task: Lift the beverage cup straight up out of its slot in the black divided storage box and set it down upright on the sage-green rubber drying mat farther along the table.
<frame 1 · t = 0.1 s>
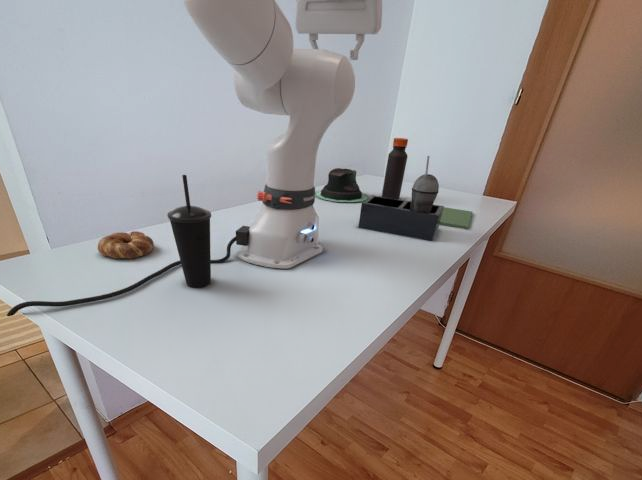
hand: (335, 59, 88), 39 cm above the table, tool pointing down, fingers open, 8 cm apart
black fabric hat shape: (341, 196, 138), on the table
drinking cup: (198, 283, 73), on the table
black divided storage box: (398, 228, 109), on the table
braided bread ring: (128, 252, 85), on the table
beverage cup: (415, 232, 107), resting in black divided storage box
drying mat: (441, 216, 122), on the table
bottle: (390, 199, 139), on the table
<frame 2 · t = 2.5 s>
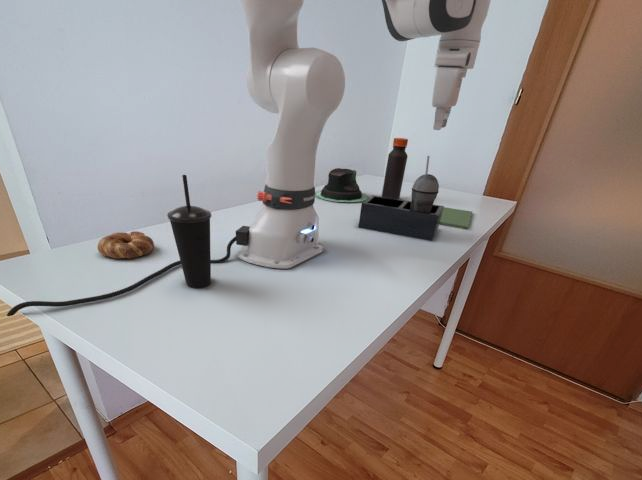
hand: (439, 128, 92), 26 cm above the table, tool pointing down, fingers open, 8 cm apart
nothing on the table moved.
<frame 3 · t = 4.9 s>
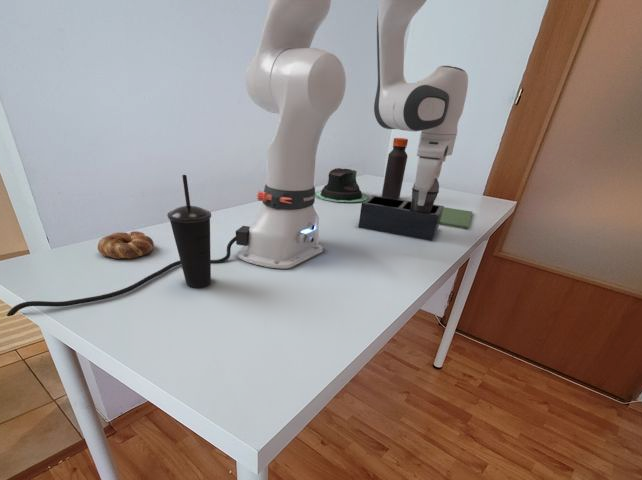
hand: (423, 201, 102), 9 cm above the table, tool pointing down, fingers open, 7 cm apart
beverage cup: (415, 232, 107), resting in black divided storage box, touching arm, gripper
everything else where it was.
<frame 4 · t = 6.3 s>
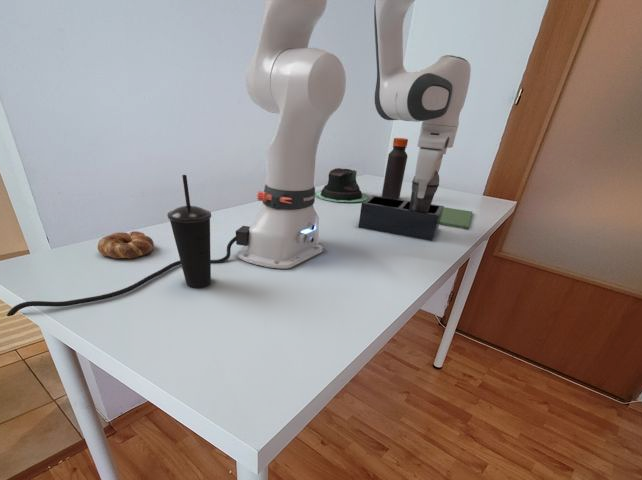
hand: (422, 195, 101), 10 cm above the table, tool pointing down, fingers closed on beverage cup, 6 cm apart
beverage cup: (414, 226, 106), point 2 cm above the table, touching arm, gripper
everything else where it was.
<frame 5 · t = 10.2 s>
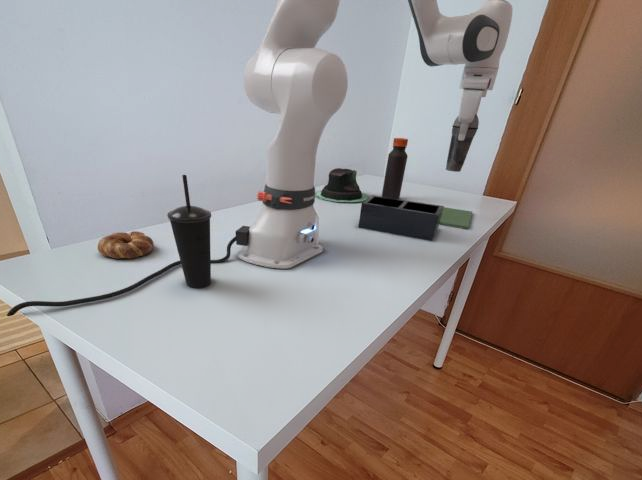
hand: (462, 139, 108), 23 cm above the table, tool pointing down, fingers closed on beverage cup, 6 cm apart
beverage cup: (452, 170, 114), point 14 cm above the table, touching arm, gripper
everything else where it was.
when the fingers open (9 cm above the table, at t = 14.3 s): beverage cup stays where it is, resting on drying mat.
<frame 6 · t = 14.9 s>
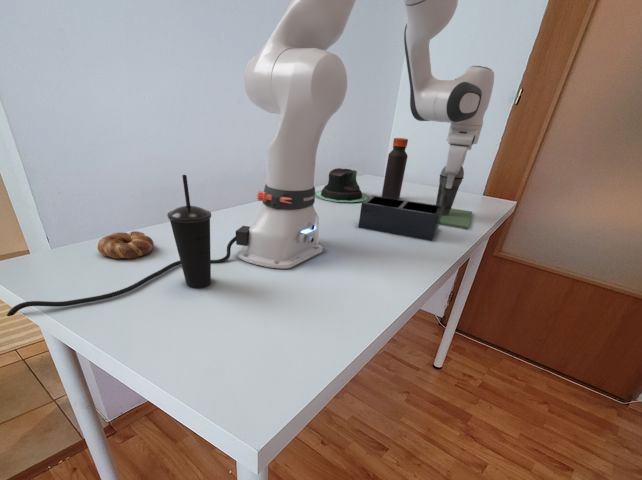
hand: (450, 185, 116), 10 cm above the table, tool pointing down, fingers open, 8 cm apart
beverage cup: (441, 214, 122), point 1 cm above the table, touching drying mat
everything else where it was.
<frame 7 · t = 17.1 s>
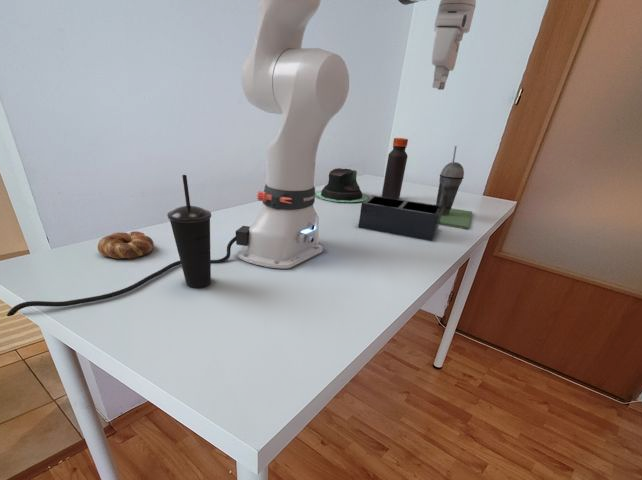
hand: (438, 89, 101), 34 cm above the table, tool pointing down, fingers open, 8 cm apart
nothing on the table moved.
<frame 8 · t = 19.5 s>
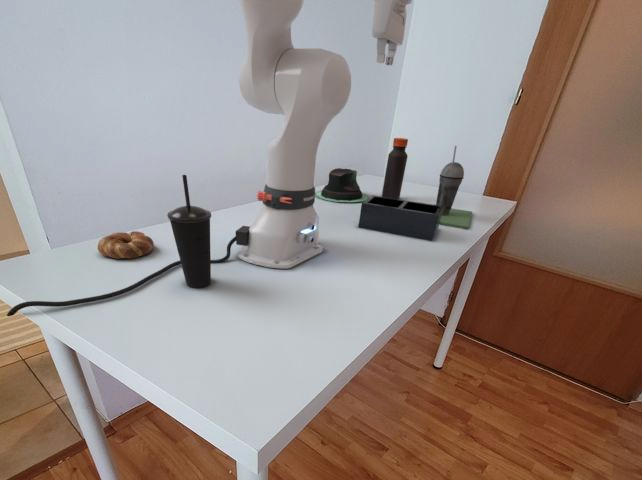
hand: (384, 64, 97), 39 cm above the table, tool pointing down, fingers open, 8 cm apart
nothing on the table moved.
at the end: beverage cup inside the target area on the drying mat (0.4 cm from its centre), point 0.6 cm above the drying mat's base; beverage cup tilted 0°; the gripper is holding nothing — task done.
